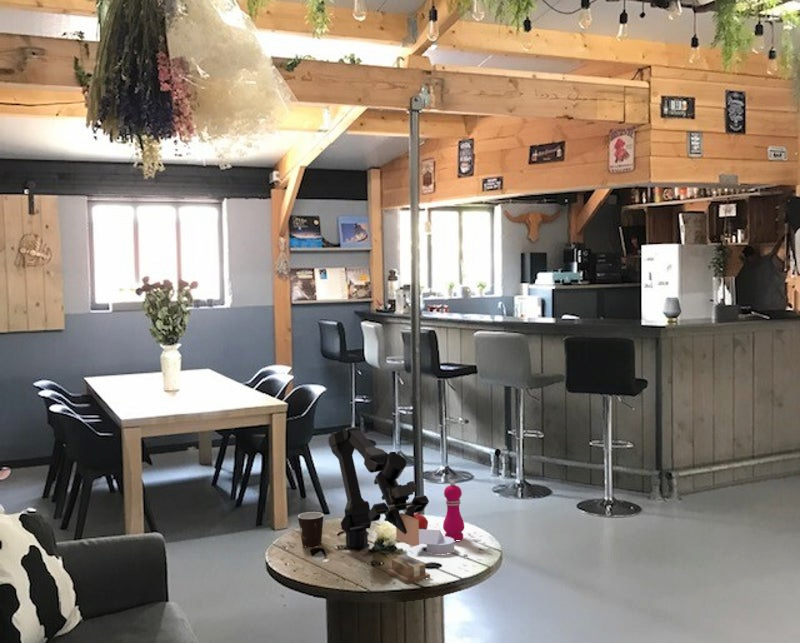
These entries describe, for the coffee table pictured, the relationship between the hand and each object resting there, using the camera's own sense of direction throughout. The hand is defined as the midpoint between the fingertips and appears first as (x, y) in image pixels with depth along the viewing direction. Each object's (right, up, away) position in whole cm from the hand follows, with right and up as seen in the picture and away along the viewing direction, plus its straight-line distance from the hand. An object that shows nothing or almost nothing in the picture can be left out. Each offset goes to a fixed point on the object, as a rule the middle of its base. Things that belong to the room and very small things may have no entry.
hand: (409, 532), depth 243 cm
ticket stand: (0, -13, +2) cm, 14 cm away
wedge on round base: (+8, -12, +25) cm, 29 cm away
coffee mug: (-33, -13, +33) cm, 48 cm away
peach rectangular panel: (-1, -3, +1) cm, 4 cm away
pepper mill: (+16, -12, +36) cm, 41 cm away
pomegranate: (+2, -12, +42) cm, 44 cm away
